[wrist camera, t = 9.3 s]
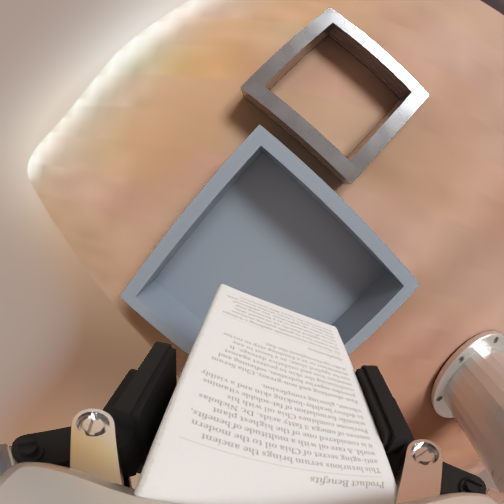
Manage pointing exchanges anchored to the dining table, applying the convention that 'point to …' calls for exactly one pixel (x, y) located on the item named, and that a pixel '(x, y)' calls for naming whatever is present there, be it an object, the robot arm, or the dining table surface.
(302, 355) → the skincare box
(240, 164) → the bin
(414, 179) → the dining table surface
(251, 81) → the collar
